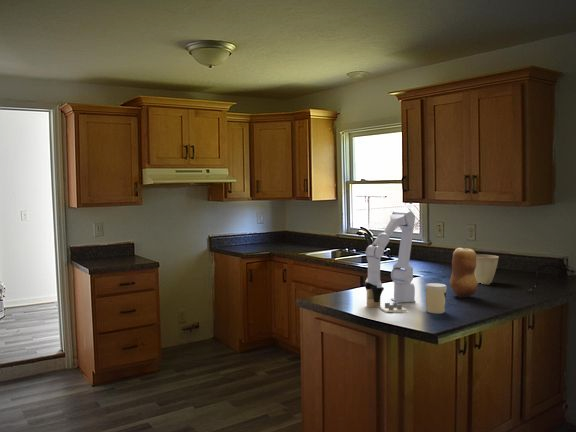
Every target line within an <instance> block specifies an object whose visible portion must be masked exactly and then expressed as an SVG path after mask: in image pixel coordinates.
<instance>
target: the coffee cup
mask: <svg viewBox="0 0 576 432" xmlns="http://www.w3.org/2000/svg"><path fill="white" fill-rule="evenodd" d="M424 288H425V303H426V304H425V307H426V308H425V309H426V312H427V313H430V314H444V313H445V311H446V309H445V308H446V301H447V300H446V299H447V290H448V289H447V288H448V286H447V285H446V284H444V283H440V282H439V283H438V282H437V283H436V282H431V283H430V282H429V283H426V284H425V286H424Z"/></svg>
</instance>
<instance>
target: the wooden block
mask: <svg viewBox="0 0 576 432" xmlns="http://www.w3.org/2000/svg"><path fill="white" fill-rule="evenodd" d="M381 296H382V295H381ZM381 296H380V300H379V302H374V298H373V292H372V289H367V290H366V307H367V308H380V307H381V298H382V297H381Z"/></svg>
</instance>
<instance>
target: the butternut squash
mask: <svg viewBox="0 0 576 432" xmlns="http://www.w3.org/2000/svg"><path fill="white" fill-rule="evenodd" d="M476 255H477V253H476V251H475V250H474V249H472V248H465V247H464V248H463V247H457V248H456V249H455V250H454V251H453V252H452V260H451V275H450V279H449V286H450V288H451V290H452V291H453V293H454V295H455V296H456V297H457V298H459V299H464V298H469V297H470V296H472V295H474V294H475V293H476V292H477V290H478V283H477V280H476V277H475V274H474V272H475V268H476Z"/></svg>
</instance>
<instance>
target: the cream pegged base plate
mask: <svg viewBox="0 0 576 432" xmlns="http://www.w3.org/2000/svg"><path fill="white" fill-rule="evenodd" d="M380 309H381V310H380ZM379 310H380V311H383V312H384V313H385V312H386V314H388V313H387V312H393V313H407V312H408V309H407V308H405V307H404V306H403V304H399V302H393V304H390V302H385V303H384V306H380V307H379Z"/></svg>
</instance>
